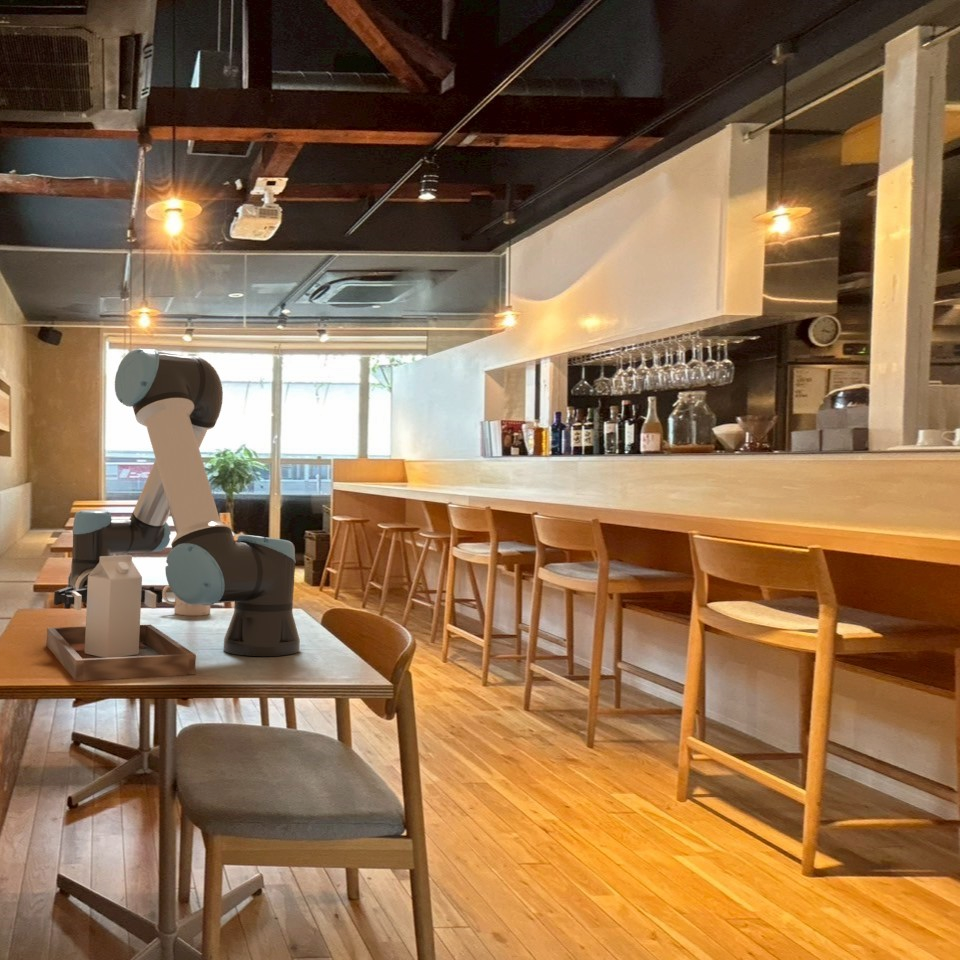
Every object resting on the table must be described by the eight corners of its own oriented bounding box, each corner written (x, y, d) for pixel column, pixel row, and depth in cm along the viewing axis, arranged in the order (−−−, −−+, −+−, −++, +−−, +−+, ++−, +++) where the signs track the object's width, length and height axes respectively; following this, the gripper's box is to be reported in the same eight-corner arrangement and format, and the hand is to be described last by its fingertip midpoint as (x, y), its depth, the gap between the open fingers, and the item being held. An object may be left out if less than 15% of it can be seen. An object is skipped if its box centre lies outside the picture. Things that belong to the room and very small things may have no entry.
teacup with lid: (205, 610, 262) (207, 564, 262) (215, 615, 254) (217, 568, 254) (157, 611, 256) (159, 565, 256) (165, 617, 248) (168, 568, 248)
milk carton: (84, 654, 196) (88, 555, 196) (116, 650, 202) (120, 553, 202) (106, 659, 192) (111, 558, 192) (138, 655, 198) (143, 556, 198)
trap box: (149, 641, 213) (150, 624, 213) (195, 674, 182) (195, 654, 182) (46, 645, 203) (47, 627, 203) (75, 681, 172) (76, 660, 172)
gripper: (158, 605, 219) (183, 619, 201) (31, 608, 207) (45, 624, 188) (159, 570, 219) (184, 581, 201) (33, 571, 206) (47, 583, 188)
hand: (117, 602), depth 194 cm, fingers open, 13 cm apart
